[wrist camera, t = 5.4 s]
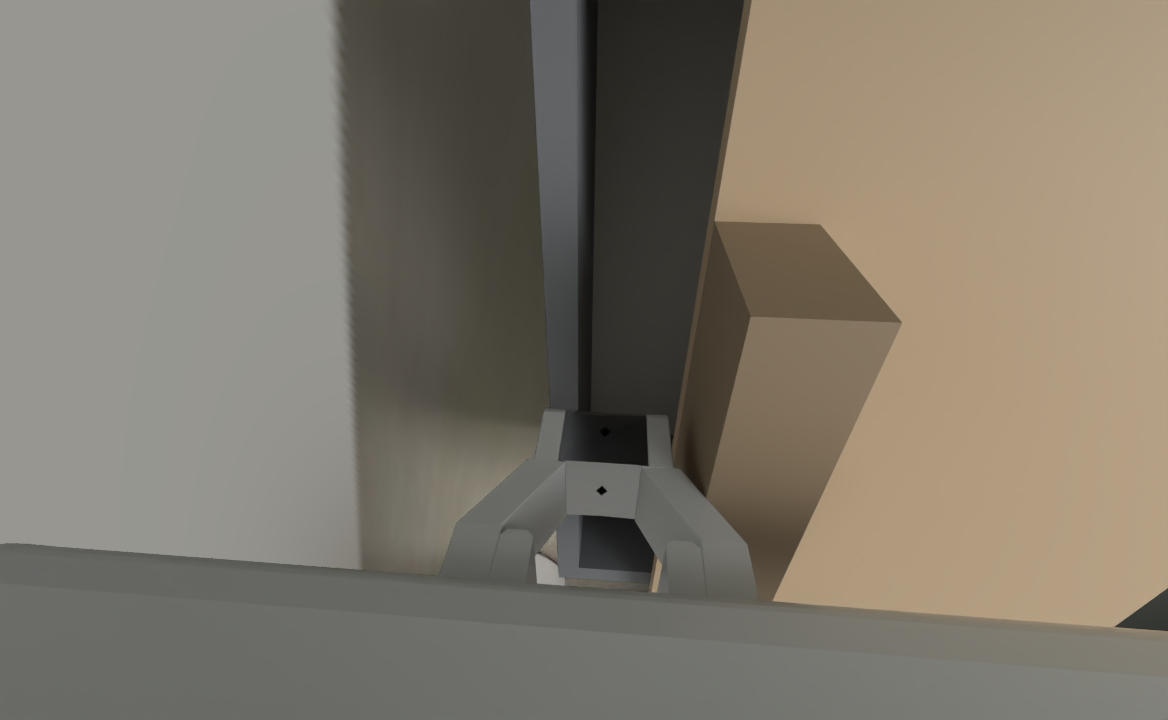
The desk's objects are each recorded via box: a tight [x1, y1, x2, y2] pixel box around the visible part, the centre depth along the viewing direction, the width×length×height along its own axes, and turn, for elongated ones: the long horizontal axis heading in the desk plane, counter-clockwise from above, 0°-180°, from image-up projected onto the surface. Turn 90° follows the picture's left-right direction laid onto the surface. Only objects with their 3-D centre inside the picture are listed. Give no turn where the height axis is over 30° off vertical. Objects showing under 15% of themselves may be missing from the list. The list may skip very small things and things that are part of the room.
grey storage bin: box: [530, 0, 744, 584], centre depth 16 cm, size 20×16×8 cm
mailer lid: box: [649, 0, 1168, 627], centre depth 11 cm, size 20×16×4 cm
